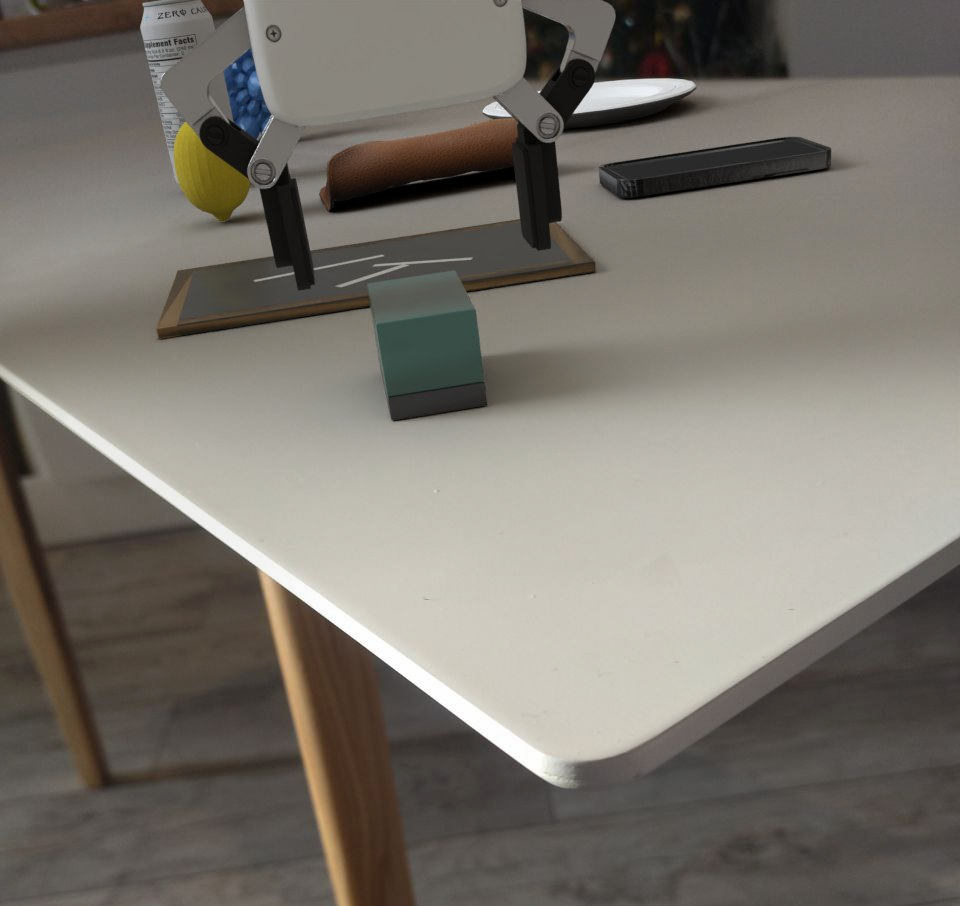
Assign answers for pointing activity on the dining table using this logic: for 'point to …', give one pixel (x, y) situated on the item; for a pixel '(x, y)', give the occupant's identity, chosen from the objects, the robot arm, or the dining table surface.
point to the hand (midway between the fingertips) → (422, 263)
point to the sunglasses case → (418, 159)
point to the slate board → (362, 275)
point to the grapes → (246, 95)
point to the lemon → (207, 176)
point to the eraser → (427, 345)
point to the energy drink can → (177, 54)
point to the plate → (617, 101)
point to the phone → (713, 166)
